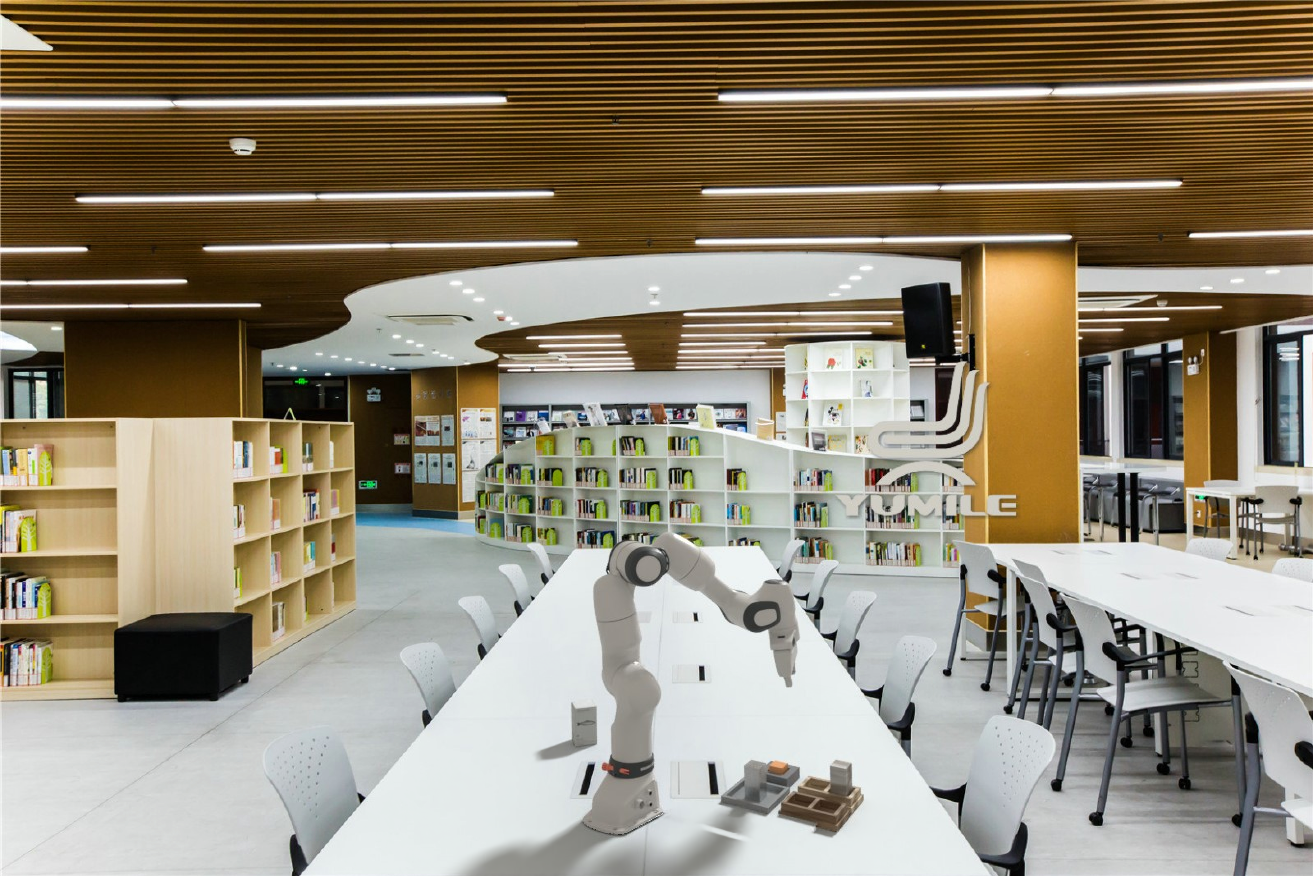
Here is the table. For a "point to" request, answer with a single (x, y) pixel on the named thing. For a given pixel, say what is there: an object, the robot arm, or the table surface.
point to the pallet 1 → (825, 792)
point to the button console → (783, 776)
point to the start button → (778, 767)
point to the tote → (766, 805)
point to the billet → (755, 780)
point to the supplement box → (584, 722)
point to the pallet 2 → (815, 810)
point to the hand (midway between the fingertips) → (791, 680)
